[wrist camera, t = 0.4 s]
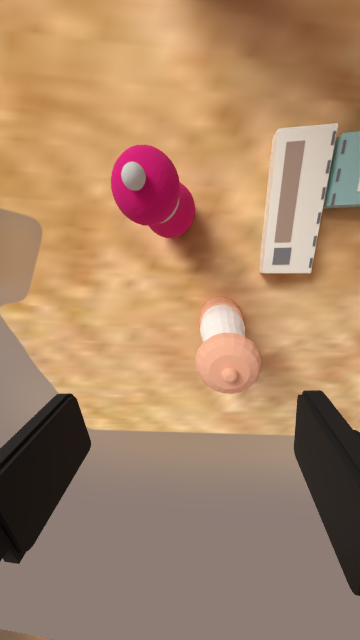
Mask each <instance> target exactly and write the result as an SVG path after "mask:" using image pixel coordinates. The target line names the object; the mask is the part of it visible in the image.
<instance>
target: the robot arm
mask: <svg viewBox="0 0 360 640" xmlns="http://www.w3.org/2000/svg"><path fill="white" fill-rule="evenodd" d="M90 447H91V440H90V437H89V434H88V431H87V428H86V425H85V422H84V419H83V416H82V413H81V410H80V407H79V404H78V402H77V399H76V398H75V397H74V396H73V395H72V394H57V395H56V396H55V397H54V398H53V399H51V400H50V402H48V403H47V404H46V405H45V406H44V407H43V408H42V409H41V410H40V411H39V412H38V413H37V414H36V415H35V416H34V417H33V418H32V419H31V420H30V421H29V422H27V423H26V424H25V425H24V426H23V427H22V428H21V429H20V430H19V431H18V432H17V433H16V434H15V435H14V436H13V437H12V438H11V439H10V440H9V441H8V442H7V443H6V444H5V445H4V446H3V447H1V448H0V561H1V559H2V558H3V559H4V561H5V562H11V563H18V564H19V563H20V561H21V560H22V558H23V556H24V555H25V553H26V551H28V550H29V549H30V548H31V547H32V546H33V545H34V543H35V541H36V540H37V538H38V536H39V535H40V533H41V531H42V530H43V528H44V526H45V525H46V523H47V521H48V519H49V518H50V516H51V514H52V513H53V511H54V509H55V508H56V506H57V504H58V503H59V501H60V499H61V497H62V496H63V494H64V492H65V491H66V489H67V487H68V486H69V484H70V482H71V481H72V479H73V477H74V475H75V474H76V472H77V470H78V468H79V467H80V465H81V464H82V462H83V460H84V459H85V457H86V455H87V453H88V452H89V450H90ZM294 452H295V456H296V459H297V461H298V464H299V466H300V468H301V471H302V473H303V476H304V478H305V481H306V483H307V486H308V488H309V490H310V493H311V495H312V497H313V500H314V502H315V505H316V507H317V509H318V512H319V514H320V517H321V519H322V522H323V524H324V526H325V529H326V531H327V534H328V536H329V539H330V541H331V543H332V546H333V548H334V550H335V553H336V555H337V558H338V560H339V563H340V565H341V568H342V570H343V572H344V575H345V577H346V580H347V582H348V584H349V586H350V588H351V590H352V592H353V593H354V594H355V595H359V596H360V432H358V431H356V430H353V429H352V428H351V427H350V425H349V424H348V423H347V422H346V420H345V419H344V418H343V417H342V415H341V414H340V413H339V412H338V410H337V409H336V408H335V407H334V405H333V404H332V403H331V401H330V400H329V399H328V398H327V396H326V395H325V394H324V393H323V392H322V391H320V390H319V391H303V393H302V395H298V399H297V413H296V427H295V440H294ZM0 640H52V639H47V638H42V637H38V636H33V635H28V634H23V633H17V632H12V631H7V630H2V629H0Z"/></svg>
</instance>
